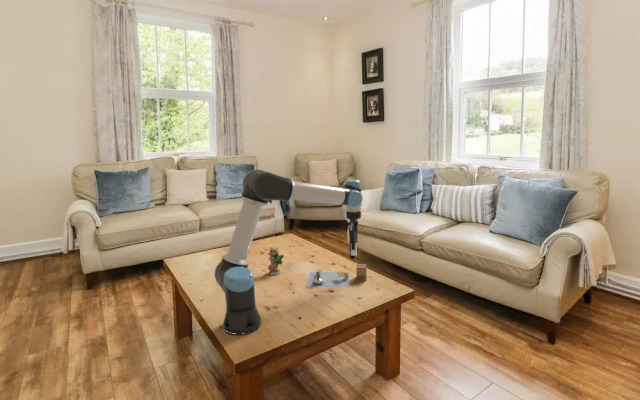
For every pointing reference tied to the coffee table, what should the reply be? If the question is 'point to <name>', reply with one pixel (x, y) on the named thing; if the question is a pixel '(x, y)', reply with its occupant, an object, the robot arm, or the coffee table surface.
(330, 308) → the coffee table surface
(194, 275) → the coffee table surface
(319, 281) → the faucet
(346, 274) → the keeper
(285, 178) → the robot arm
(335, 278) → the board
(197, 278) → the coffee table surface
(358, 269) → the block
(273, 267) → the figurine
